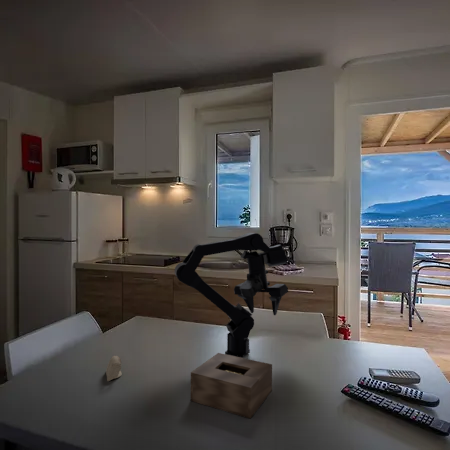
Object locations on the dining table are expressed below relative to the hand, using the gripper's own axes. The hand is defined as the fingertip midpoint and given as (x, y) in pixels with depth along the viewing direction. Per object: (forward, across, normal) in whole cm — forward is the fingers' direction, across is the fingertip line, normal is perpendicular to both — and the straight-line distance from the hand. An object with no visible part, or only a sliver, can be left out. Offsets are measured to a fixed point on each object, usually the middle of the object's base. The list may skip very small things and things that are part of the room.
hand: (263, 313), depth 115 cm
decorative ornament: (+5, -23, -45) cm, 51 cm away
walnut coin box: (+9, +9, -32) cm, 35 cm away
